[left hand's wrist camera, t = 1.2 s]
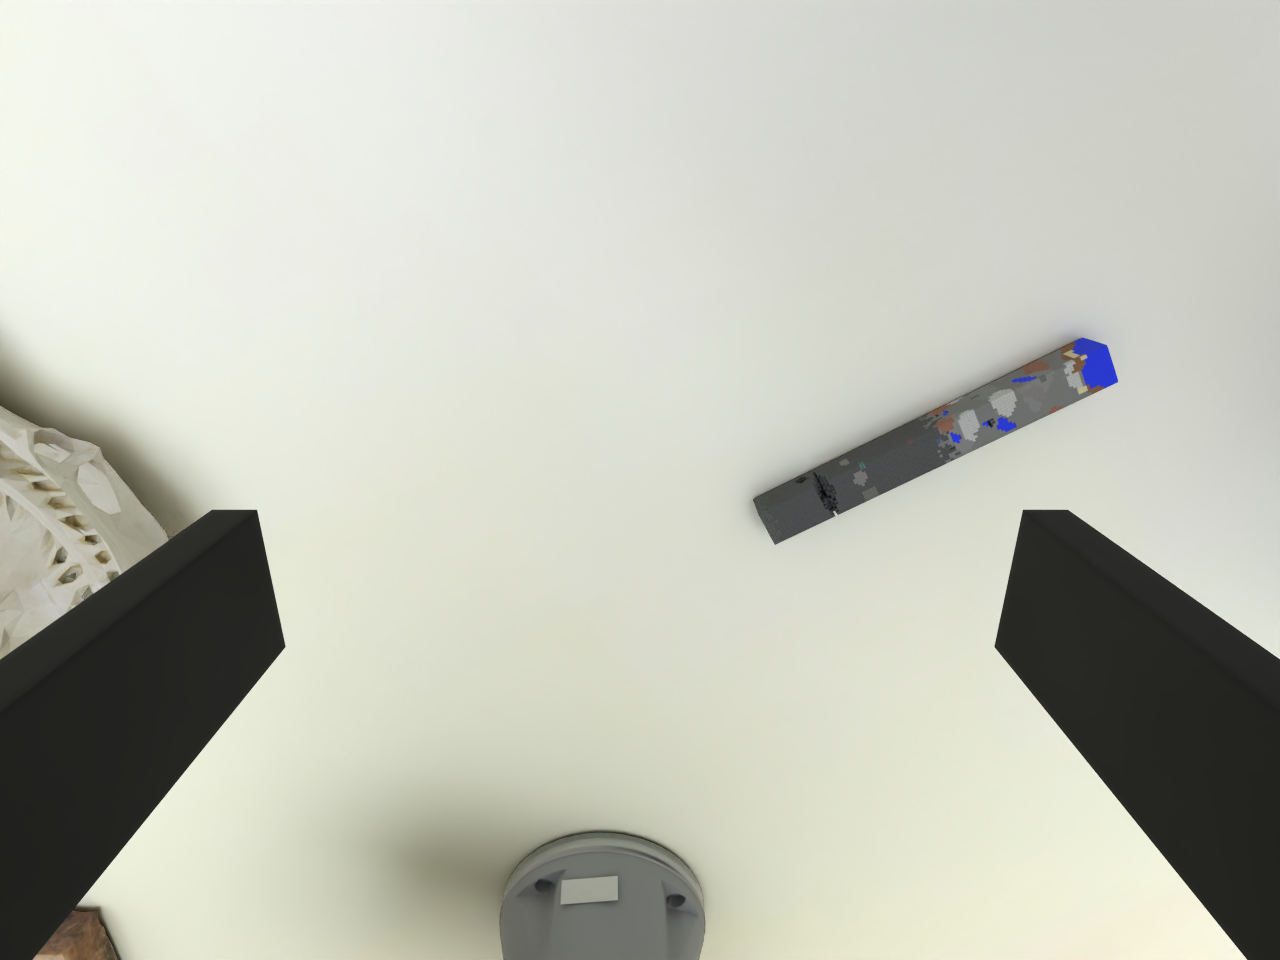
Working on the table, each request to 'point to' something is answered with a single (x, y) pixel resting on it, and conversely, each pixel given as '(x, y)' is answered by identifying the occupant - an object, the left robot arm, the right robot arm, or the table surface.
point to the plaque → (78, 940)
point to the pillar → (937, 438)
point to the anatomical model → (60, 526)
